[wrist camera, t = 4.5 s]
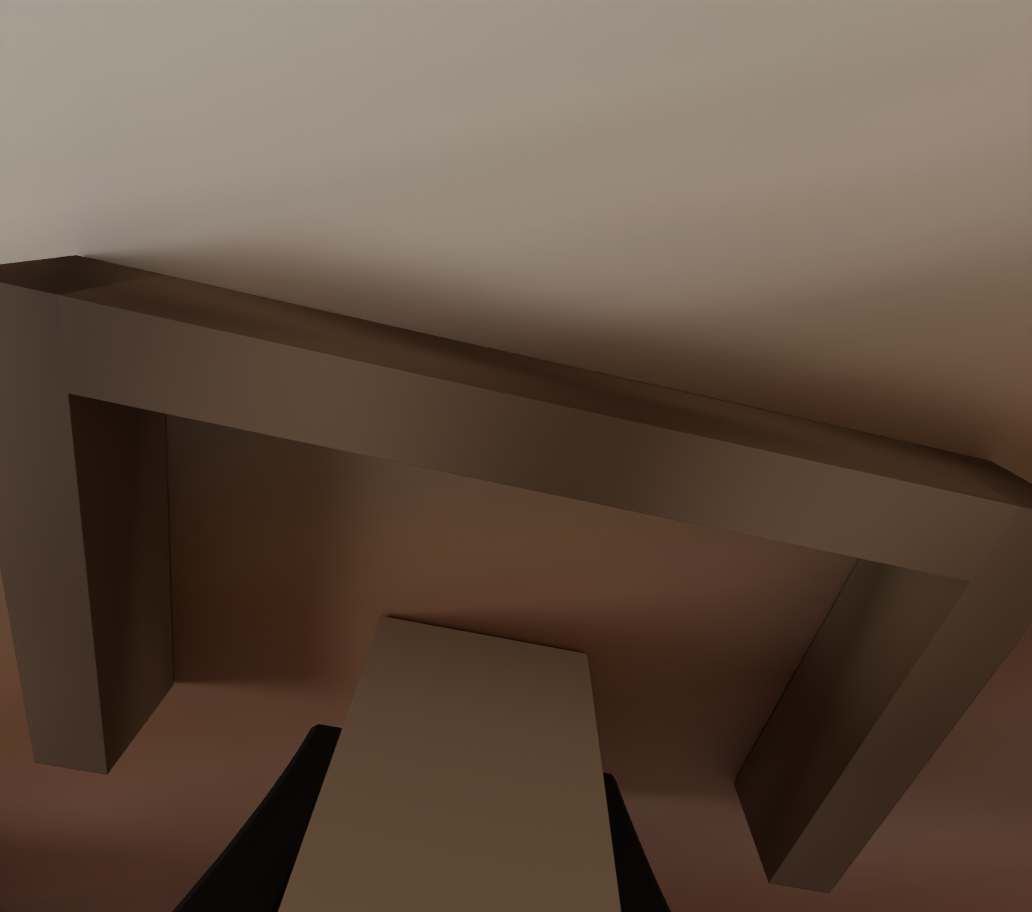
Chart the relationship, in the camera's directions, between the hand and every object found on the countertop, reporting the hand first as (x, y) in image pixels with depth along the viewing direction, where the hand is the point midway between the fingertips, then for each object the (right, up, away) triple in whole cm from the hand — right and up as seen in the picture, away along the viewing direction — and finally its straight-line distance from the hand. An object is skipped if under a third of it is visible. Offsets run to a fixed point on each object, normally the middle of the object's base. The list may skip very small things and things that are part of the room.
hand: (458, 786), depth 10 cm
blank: (0, +1, +1) cm, 2 cm away
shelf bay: (+1, +3, 0) cm, 3 cm away
